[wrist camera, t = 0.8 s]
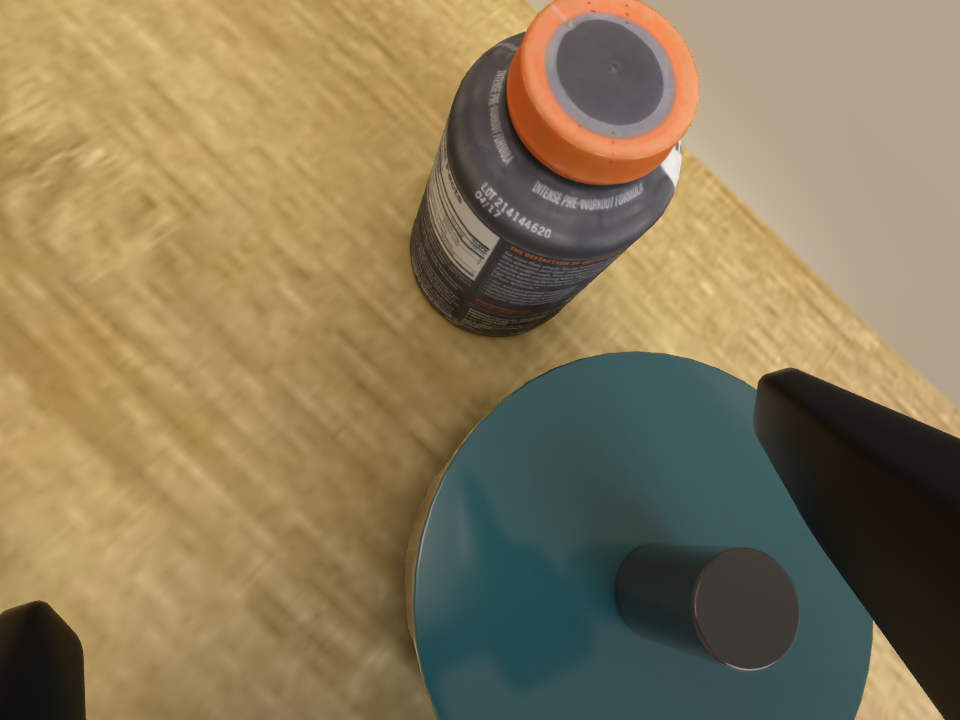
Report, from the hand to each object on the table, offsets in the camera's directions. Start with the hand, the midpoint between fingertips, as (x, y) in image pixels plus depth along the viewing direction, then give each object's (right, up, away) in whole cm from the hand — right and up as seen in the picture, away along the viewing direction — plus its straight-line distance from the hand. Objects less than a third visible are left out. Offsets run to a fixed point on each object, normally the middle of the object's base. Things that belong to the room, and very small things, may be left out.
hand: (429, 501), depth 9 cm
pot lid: (+5, -4, +10) cm, 12 cm away
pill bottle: (+1, +5, +17) cm, 18 cm away
